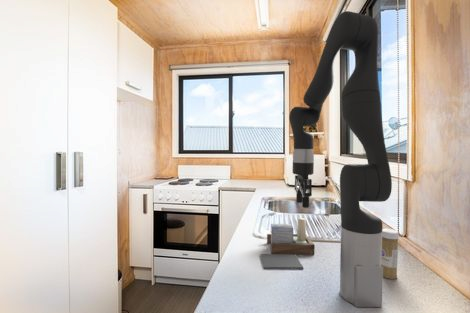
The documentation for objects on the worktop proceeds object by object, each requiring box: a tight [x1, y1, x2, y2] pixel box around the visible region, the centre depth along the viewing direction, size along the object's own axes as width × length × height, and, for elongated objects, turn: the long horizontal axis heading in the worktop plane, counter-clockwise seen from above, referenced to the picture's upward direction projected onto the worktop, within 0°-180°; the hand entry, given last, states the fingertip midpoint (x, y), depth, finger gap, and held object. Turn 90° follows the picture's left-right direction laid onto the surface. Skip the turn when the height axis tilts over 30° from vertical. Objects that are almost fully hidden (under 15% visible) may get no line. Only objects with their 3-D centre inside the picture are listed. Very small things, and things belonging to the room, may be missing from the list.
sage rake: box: [293, 217, 307, 243], centre depth 97 cm, size 7×4×11 cm, turn 1°
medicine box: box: [270, 223, 294, 243], centre depth 97 cm, size 8×4×9 cm, turn 84°
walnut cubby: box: [266, 233, 316, 256], centre depth 97 cm, size 11×15×4 cm
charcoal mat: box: [260, 253, 304, 270], centre depth 85 cm, size 10×12×1 cm
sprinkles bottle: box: [381, 228, 400, 280], centre depth 76 cm, size 5×5×13 cm
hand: (302, 204), depth 97 cm, fingers open, 8 cm apart
